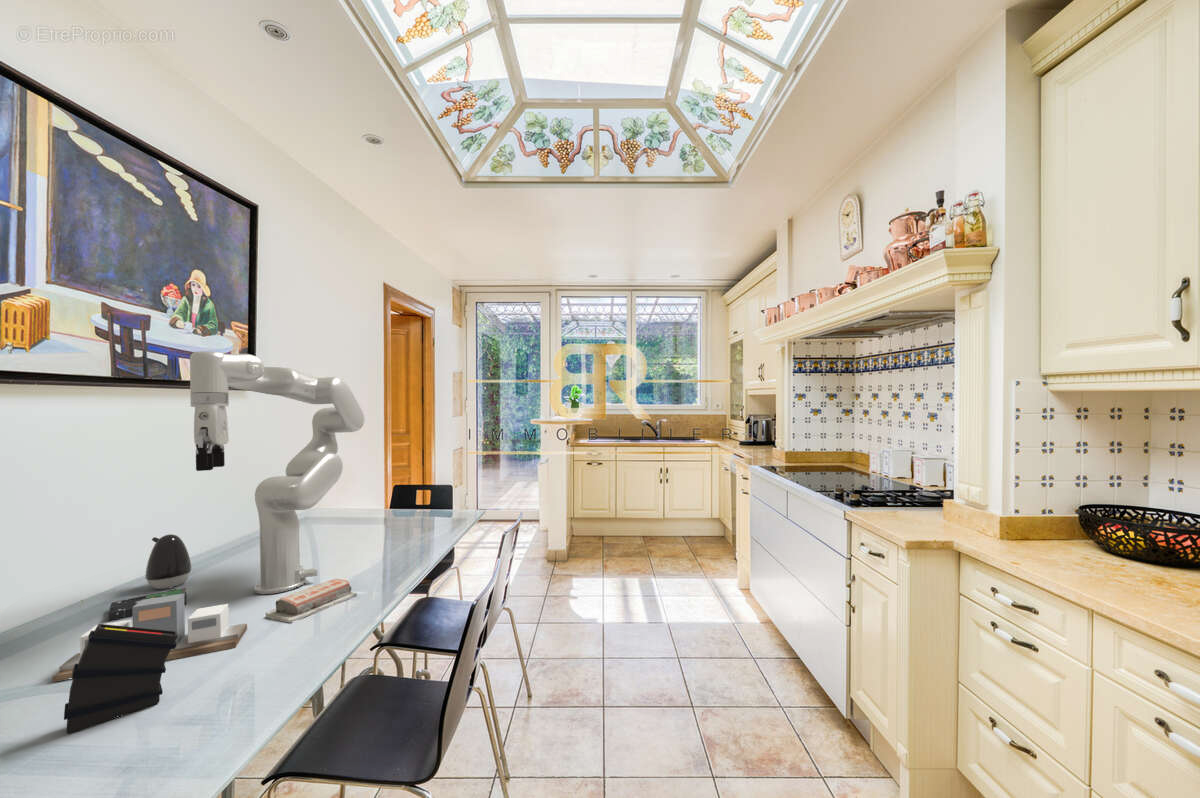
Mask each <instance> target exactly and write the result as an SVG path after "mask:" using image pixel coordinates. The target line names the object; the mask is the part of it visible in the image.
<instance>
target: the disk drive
mask: <svg viewBox="0 0 1200 798" xmlns="http://www.w3.org/2000/svg"><path fill="white" fill-rule="evenodd" d="M186 589H187V588H186V587H182V588H177V589H170V590H166V591H162V592H155V593H152V594H151V593H150V594H147V595H143V596H137V597H132V598H128V599H122V600H117V601H112V602H111V603H110V607H109V610H108V614H107V617H108V619H107V620H108V622H107V623H111V622H116V621H120V620H124V618H125V619H129V618H133V614H132V607H133V606H135V605H136V604H137V603H139V602H140V601H141V600H144V599H151V598H157V597H164V596H171V595H177V594H184V605H185V606H186V605H188V602H187V601H188V599H187V597H188V596H187V590H186ZM110 621H111V622H110Z"/></svg>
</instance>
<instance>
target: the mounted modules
mask: <svg viewBox="0 0 1200 798" xmlns="http://www.w3.org/2000/svg"><path fill="white" fill-rule="evenodd" d="M105 624H106V625H116V626H126V627H133V619H127V620H121V621H120V620H118V621H112V622H107V623H105ZM97 626H98V624H96V625H94V626H93V627H92V628H90V629H89V630H88V631H86V632H85V633H84V634H83V635H81V636H80V640H79V641H80V645H79V647H80V652H79V653H80V658H81V655H82V652H83V650H84V648H85V646H86V645H87V643H88V637H89V634H90V632H91V631H95V629H96V627H97ZM228 626H230V625H229V603H226V604H218V605H213V606H207V607H201V608H196V610H195V611H194V612H193V613H192V614H191V615H190V616H189V617H188V618H187V634H188V643H192V642H198V641H203V640H209V639H214V638H219V637H221V636H222V635H223V633H224V632H225V631H226V629H227V628H228Z"/></svg>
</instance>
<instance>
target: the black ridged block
mask: <svg viewBox="0 0 1200 798" xmlns="http://www.w3.org/2000/svg"><path fill="white" fill-rule="evenodd" d="M106 624H107V623H98V624H97V625H98V626H97V627H96V629H95V631H91V632H90V634H89V637H88V643H87V645H86V646H85V648H84V650H83V652H82V655H81V658H80V661H79V663H78V664H75V665H74V668H73V672H72V679H71V680H72V681H71V684H70V689H69V696H68V702H66V703H65V704H64V712H63V713H64V714H63V720H64V721H65V720H66V730H65V731H66V734H67V735H70V734H73V733H75V732H78V730H79V731H81V729H82V730H85V729H87V727H88V728H90V726H91V727H93V726H96V725H100V724H102V723H105V722H107V721H111V720H113V719H112V718H114V717H117V716H120V717H122V716H121V715H123V716H125V715H124V714H126V715H128V714H127V713H129V714H131V713H130V712H132V713H135V712H137V711H140V710H143V709H145V707H146V708H149V707H151V706H150V705H152V706H154V704H155V705H157V703H158V704H160V700H161V699H160V695H161V696H162V695H163V688H162V687H163V686H162V684H161V681H162V674H165V673H166V671H167V668H166V666H165V664H166V662H167V661H166V658H167V656H168V654H169V652H170V650H171V649H175V647H176V645H177V643H176V639H177V637H178V634H177V632H175V631H167V630H157V629H146V628H136V627H133V626H132V627H126V626H116V625H106ZM148 706H149V707H148ZM134 711H135V712H134ZM117 718H118V717H117ZM110 719H111V720H110ZM114 719H115V718H114ZM84 728H85V729H84Z"/></svg>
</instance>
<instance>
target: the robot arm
mask: <svg viewBox="0 0 1200 798" xmlns="http://www.w3.org/2000/svg"><path fill="white" fill-rule="evenodd" d="M189 373H190V374H189V376H190V377H189V382H190V383H189V384H190V386H189V388H190V393H189V394H190V395H189V397H190V407H191V408H194V416H193V417H194V419H193V438H194V445H195V470H196V471H197V472H202V471H203V472H204V471H212V470H214V468H221V467H224V466H225V465H226V464H225V461H226V460H225V446H224V445H226V444H228V443H229V440H230V439H229V425H228V416H227V415H228V413H227V408H226V407H229V404H230V401H229V388H232V389H236V390H237V389H238V390H242V391H249V392H255V393H261V394H264V395H272V396H279V397H283V398H287V399H291V400H295V401H298V402H302V403H306V404H310V405H331V404H333V407H332V406H330V407H324V408H320V409H318V410H317V411H315V413H314V414H313V417H312V421H311V426H312V438H311V439H310V441H309V442H308V443H307V445H306V446H305V447H303V448H302V449H301V450H300V451H299V452H298V453H297V454H295V456H294V457H292V459H291V460H290V461H289V462H288V463H287V465H286V467H285V476H284V475H283V476H282V475H278V476H277V475H276V476H272V477H268V478H265V479H264V480H263V479H262V481H261V482H259V484H258V485H257V486H256V489H255V491H254V502H255V505H256V510H257V513H258V521H259V523H258V524H259V567H260V569H259V570H260V577H259V578H260V582H259V583H258V584H256V585H255V586H253V593H255V594H257V595H272V594H279V593H285V592H288V591H287V590H289V591H292V590H295V589H297V588H296V587H298V588H299V586H300V587H302V586H303V585H305V584H306V583H305V582H307V578H308V577H310V578H312V577H317V576H318V568H309V569H308V568H307V569H305V568H303V565H302V564H301V563H300V561H301V560H300V557H301V556H300V554H301V553H300V521H299V518H298V514H297V512H296V511H305V510H309V509H311V508H313V507H314V506H315V505H317V504H318V503H319V502H320V501H321V500H322V499H323V497H324V496H325V495H326V494H328V492H329V491H330V490H331V488H333V486H334V485H336V483H337V482H338V480H339V479H340V478H341V475H342V473H343V467H344V466H343V460H342V459H341V457H340V456H339V455H338V454H337V453H338V450H339V445H338V442H337V435H336V434H337V433H339V434H340V433H354V432H357V431H360V430H361V429H362V428H363V427H364V424H365V414H364V411H363V409H362V408H361V407H362V406H360V404H359V402H358V400H357V399H356V397H355V395H354V393H353V391H352V390H351V388H350V386H348V384H347V383H346V382H345V381H344V379H341V377H338V376H331V377H329V376H327V377H326V376H325V377H317V376H313V375H309V374H306V373H304V372H300V371H298V370H294V369H292V368H288V367H281V366H279V367H278V366H265V364H264V363H263V361H262V360H261V359H260V358H259V357H257V356H255V355H253V354H250V353H223V352H221V351H212V350H211V351H210V350H209V351H208V350H202V351H201V350H200V351H199V350H198V351H194V352H192V353H191V354H190V357H189ZM300 564H301V565H300ZM304 583H305V584H304ZM301 585H302V586H301ZM294 588H295V589H294ZM291 589H292V590H291ZM284 591H285V592H284Z"/></svg>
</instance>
